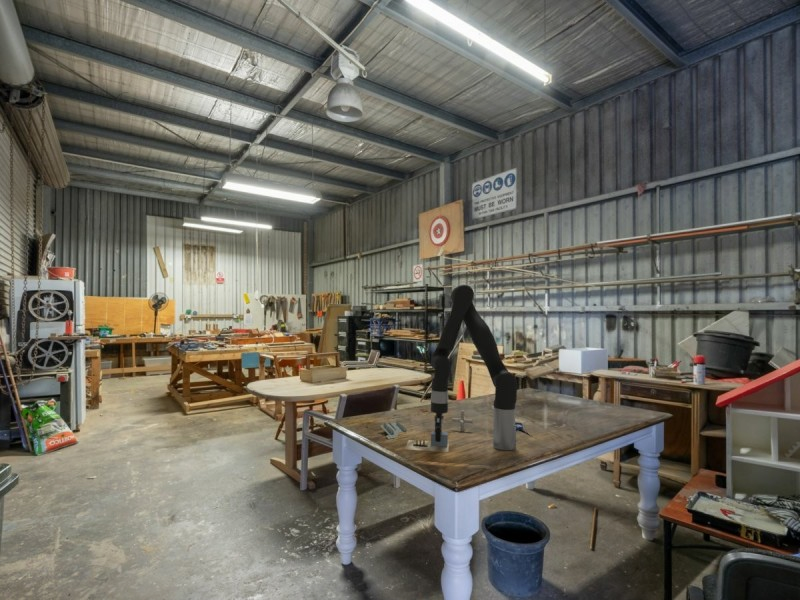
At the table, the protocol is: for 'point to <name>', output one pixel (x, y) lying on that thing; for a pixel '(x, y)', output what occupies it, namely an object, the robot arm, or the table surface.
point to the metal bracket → (393, 429)
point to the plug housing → (443, 439)
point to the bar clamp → (519, 426)
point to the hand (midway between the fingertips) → (438, 438)
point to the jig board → (424, 446)
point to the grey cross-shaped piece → (462, 420)
